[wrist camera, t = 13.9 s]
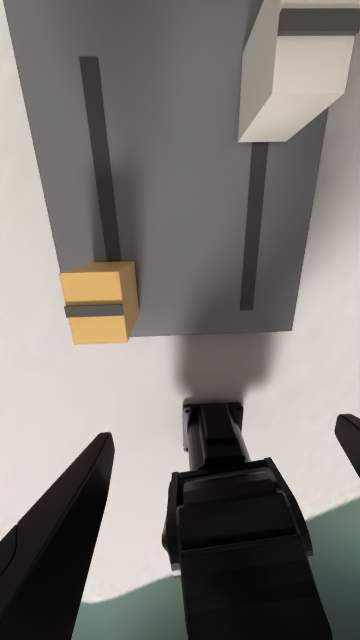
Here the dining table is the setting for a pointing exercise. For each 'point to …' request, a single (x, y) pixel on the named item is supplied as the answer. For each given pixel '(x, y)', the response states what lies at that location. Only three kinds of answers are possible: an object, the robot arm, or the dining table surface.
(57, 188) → the console
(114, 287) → the block
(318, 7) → the fader
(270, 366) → the dining table surface
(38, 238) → the dining table surface
